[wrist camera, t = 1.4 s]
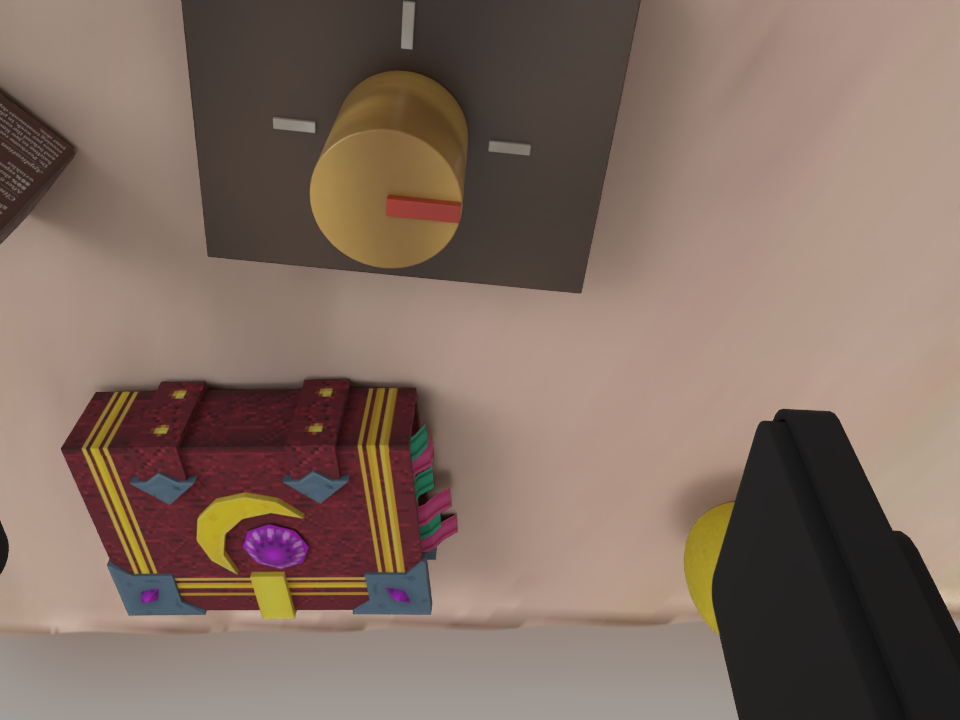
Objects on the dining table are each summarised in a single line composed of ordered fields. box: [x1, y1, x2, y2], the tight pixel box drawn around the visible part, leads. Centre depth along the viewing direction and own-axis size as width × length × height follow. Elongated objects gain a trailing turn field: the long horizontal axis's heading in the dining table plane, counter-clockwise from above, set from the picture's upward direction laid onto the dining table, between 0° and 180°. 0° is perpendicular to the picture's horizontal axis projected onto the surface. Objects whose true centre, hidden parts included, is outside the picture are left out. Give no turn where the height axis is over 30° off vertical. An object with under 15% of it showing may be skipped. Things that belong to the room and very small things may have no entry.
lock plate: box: [181, 0, 641, 293], centre depth 30 cm, size 14×11×3 cm
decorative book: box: [61, 380, 458, 619], centre depth 40 cm, size 11×16×5 cm
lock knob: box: [310, 71, 468, 268], centre depth 26 cm, size 4×4×5 cm
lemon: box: [684, 502, 735, 635], centre depth 40 cm, size 6×6×8 cm
